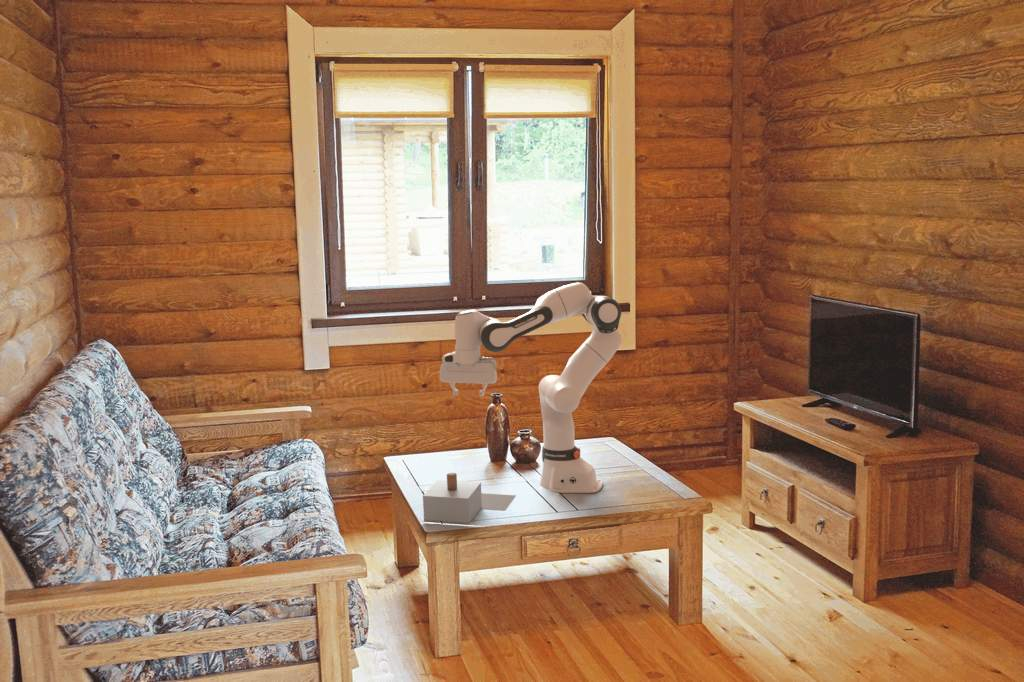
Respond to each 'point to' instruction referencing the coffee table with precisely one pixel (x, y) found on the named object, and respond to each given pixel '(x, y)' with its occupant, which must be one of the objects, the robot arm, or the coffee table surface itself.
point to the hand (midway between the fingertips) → (468, 395)
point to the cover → (452, 500)
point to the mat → (496, 501)
